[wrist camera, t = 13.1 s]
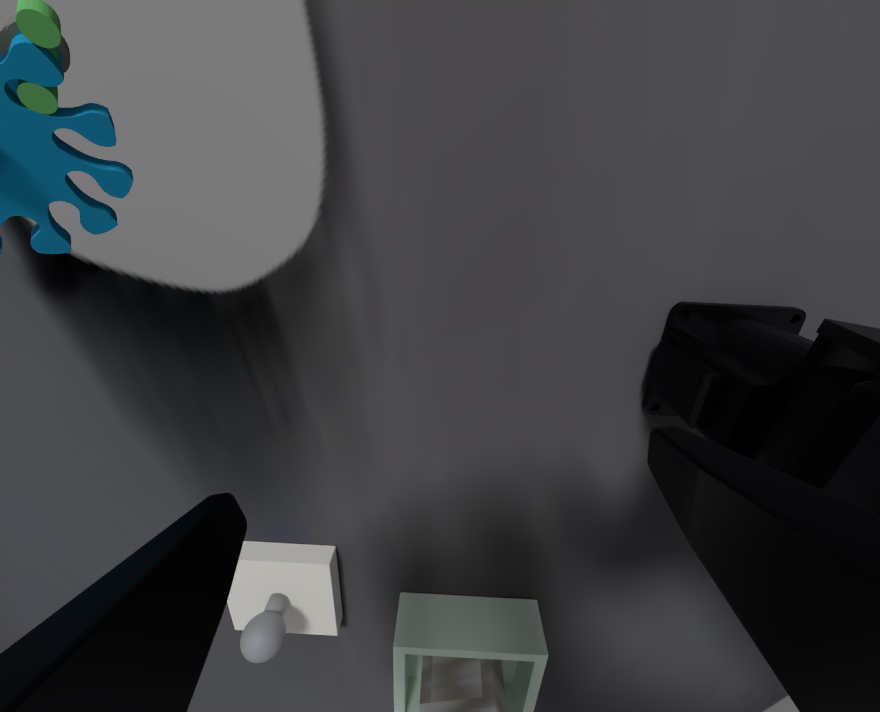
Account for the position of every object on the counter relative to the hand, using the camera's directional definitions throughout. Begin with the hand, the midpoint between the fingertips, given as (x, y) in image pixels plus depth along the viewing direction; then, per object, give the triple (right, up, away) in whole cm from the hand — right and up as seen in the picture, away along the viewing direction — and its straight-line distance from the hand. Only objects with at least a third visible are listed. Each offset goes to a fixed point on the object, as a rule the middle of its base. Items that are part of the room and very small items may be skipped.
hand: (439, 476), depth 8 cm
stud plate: (-12, -15, +21) cm, 28 cm away
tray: (+2, -21, +23) cm, 31 cm away
